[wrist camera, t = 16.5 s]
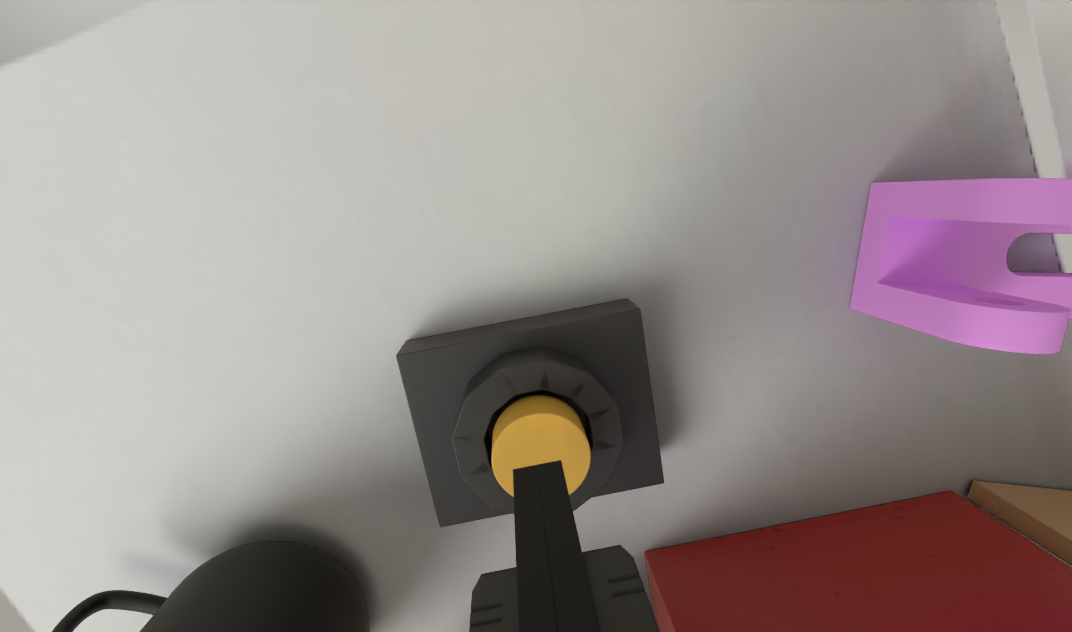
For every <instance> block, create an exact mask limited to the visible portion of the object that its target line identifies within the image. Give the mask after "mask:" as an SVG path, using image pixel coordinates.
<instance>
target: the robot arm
mask: <svg viewBox="0 0 1072 632" xmlns="http://www.w3.org/2000/svg"><path fill="white" fill-rule="evenodd" d="M513 488H514V514H515V540H516V566H517V567H515V568H510V569H505V570H500V571H495V572H490V573H485V574H482V575H481V576H480V578H479V580H478V582H477V584H476V586H475V587H474V589H473V591H472V602H471V615H470V629H469V632H660V631H659V628H658V625H657V622H656V619H655V617H654V614H653V611H652V608H651V606H650V603H649V600H648V597H647V595H646V592H645V590H644V586H643V583H642V581H641V578H640V576H639V572H638V570H637V567H636V564H635V561H634V559H633V557H632V556H631V555H630V554H629V553H628V552H627V551H626V550H625V549H624V548H623V547H622V546H620V545H617V546H612V547H607V548H602V549H597V550H592V551H587V552H582V551H581V547H580V542H579V538H578V533H577V529H576V524H575V520H574V515H573V511H572V507H571V502H570V498H569V493H568V489H567V484H566V480H565V475H564V471H563V466H562V462H561V460H558V461H553V462H548V463H543V464H538V465H533V466H528V467H523V468H518V469H513Z"/></svg>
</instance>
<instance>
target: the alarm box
mask: <svg viewBox="0 0 1072 632" xmlns="http://www.w3.org/2000/svg"><path fill="white" fill-rule="evenodd" d="M396 358H397V361H398V365H399V369H400V373H401V377H402V381H403V385H404V389H405V392H406V396H407V400H408V404H409V408H410V412H411V416H412V420H413V424H414V427H415V431H416V435H417V439H418V443H419V447H420V451H421V455H422V459H423V462H424V466H425V470H426V474H427V478H428V482H429V486H430V490H431V494H432V497H433V501H434V505H435V509H436V513H437V517H438V521H439V525H440V527H444V526H449V525H454V524H459V523H464V522H469V521H474V520H479V519H485V518H490V517H495V516H500V515H505V514H510V513H513V514H514V497H513V496H512V495H510V494H509V493H508V492H506V491H505V490H504V489H503V488H502V487H501V485H500V484H499V483H498V481H497V479H496V477H495V475H494V472H493V469H492V437H493V430H494V427H495V424H496V422H497V419H498V418H499V416H500V415H501V413H502V412H503V411H504V410H505V409H506V408H507V407H508V406H510V405H511V404H512V403H514V402H516V401H517V400H520V399H522V398H525V397H529V396H535V395H545V396H551V397H555V398H557V399H560V400H562V401H563V402H565V403H567V404H568V405H569V406H570V407H572V408H573V409H574V411H575V412H576V413H577V414H578V416H579V418H580V420H581V422H582V425H583V428H584V431H585V434H586V436H587V439H588V442H589V446H590V451H591V462H590V467H589V470H588V473H587V475H586V477H585V479H584V481H583V482H582V484H581V485H580V486H579V487H578V488H577V489H576V490H575V491H574V492H573V493H571V494H570V495H569V498H570V502H571V507H572V511H574V509H577V508H578V507H580V506H581V505H582V504H583V503H585V502H586V501H587V500H588V499H590V498H591V497H596V496H601V495H606V494H611V493H616V492H621V491H626V490H632V489H637V488H642V487H647V486H652V485H657V484H662V483H664V478H663V471H662V464H661V456H660V449H659V442H658V434H657V427H656V420H655V413H654V405H653V398H652V391H651V384H650V376H649V369H648V362H647V354H646V347H645V340H644V333H643V325H642V318H641V311H640V308H638V307H637V306H636V305H635V304H633V303H632V302H631V301H630V300H629V299H622V300H617V301H612V302H606V303H601V304H596V305H591V306H586V307H580V308H575V309H570V310H565V311H559V312H554V313H549V314H544V315H538V316H533V317H528V318H523V319H517V320H512V321H507V322H502V323H497V324H491V325H486V326H481V327H476V328H470V329H465V330H460V331H455V332H449V333H444V334H439V335H434V336H428V337H423V338H418V339H413V340H407V341H406V342H405V343H404V345H403V346H402V348H401V349H400V351H399V352H398V354H397V355H396Z"/></svg>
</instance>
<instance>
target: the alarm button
mask: <svg viewBox="0 0 1072 632" xmlns="http://www.w3.org/2000/svg"><path fill="white" fill-rule="evenodd" d="M558 460H561V462H562V466H563V471H564V475H565V480H566V484H567V489H568V493H569V495H570V494H571V493H573V492H574V491H575V490H576V489H577V488H578V487H579V486H580V485H581V484H582V482H583V481H584V479H585V477H586V475H587V473H588V470H589V467H590V462H591V451H590V446H589V442H588V439H587V436H586V434H585V431H584V428H583V425H582V422H581V420H580V418H579V416H578V414H577V413H576V412H575V411H574V409H573V408H572V407H570V406H569V405H568V404H567V403H565V402H563V401H562V400H560V399H557V398H555V397H551V396H545V395H535V396H529V397H525V398H522V399H520V400H517V401H516V402H514V403H512V404H511V405H510V406H508V407H507V408H506V409H505V410H504V411H503V412H502V413H501V415H500V416H499V418H498V419H497V422H496V424H495V427H494V430H493V437H492V469H493V472H494V475H495V477H496V479H497V481H498V483H499V484H500V485H501V487H502V488H503V489H504V490H505V491H506V492H508V493H509V494H510V495H512V496H513V497H514V488H513V469H518V468H523V467H528V466H533V465H538V464H543V463H548V462H553V461H558Z"/></svg>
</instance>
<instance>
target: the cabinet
mask: <svg viewBox="0 0 1072 632" xmlns="http://www.w3.org/2000/svg"><path fill="white" fill-rule="evenodd" d="M645 560H646V566H647V573H648V580H649V586H650V593H651V599H652V606H653V612H654V617H655V619H656V622H657V625H658V628H659V631H660V632H1072V569H1071V568H1070V567H1068V566H1067V565H1065V564H1064V563H1062V562H1061V561H1059V560H1058V559H1056V558H1055V557H1053V556H1052V555H1050V554H1049V553H1047V552H1045V551H1044V550H1042V549H1041V548H1039V547H1038V546H1036V545H1035V544H1033V543H1032V542H1030V541H1029V540H1027V539H1026V538H1024V537H1023V536H1021V535H1020V534H1018V533H1017V532H1015V531H1013V530H1012V529H1010V528H1009V527H1007V526H1006V525H1004V524H1003V523H1001V522H1000V521H998V520H997V519H995V518H994V517H992V516H991V515H989V514H988V513H986V512H985V511H983V510H981V509H980V508H978V507H977V506H975V505H974V504H972V503H971V502H968V501H967V500H966V499H964V498H963V497H961V496H960V495H958V494H957V493H955V492H954V491H949V492H944V493H939V494H934V495H929V496H924V497H919V498H914V499H909V500H904V501H899V502H894V503H889V504H884V505H879V506H874V507H869V508H864V509H859V510H854V511H849V512H844V513H838V514H833V515H828V516H823V517H818V518H813V519H808V520H803V521H798V522H793V523H788V524H783V525H778V526H773V527H768V528H763V529H758V530H753V531H748V532H743V533H738V534H733V535H728V536H723V537H718V538H713V539H708V540H703V541H698V542H693V543H688V544H683V545H678V546H673V547H668V548H663V549H658V550H653V551H648V552H645Z"/></svg>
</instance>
